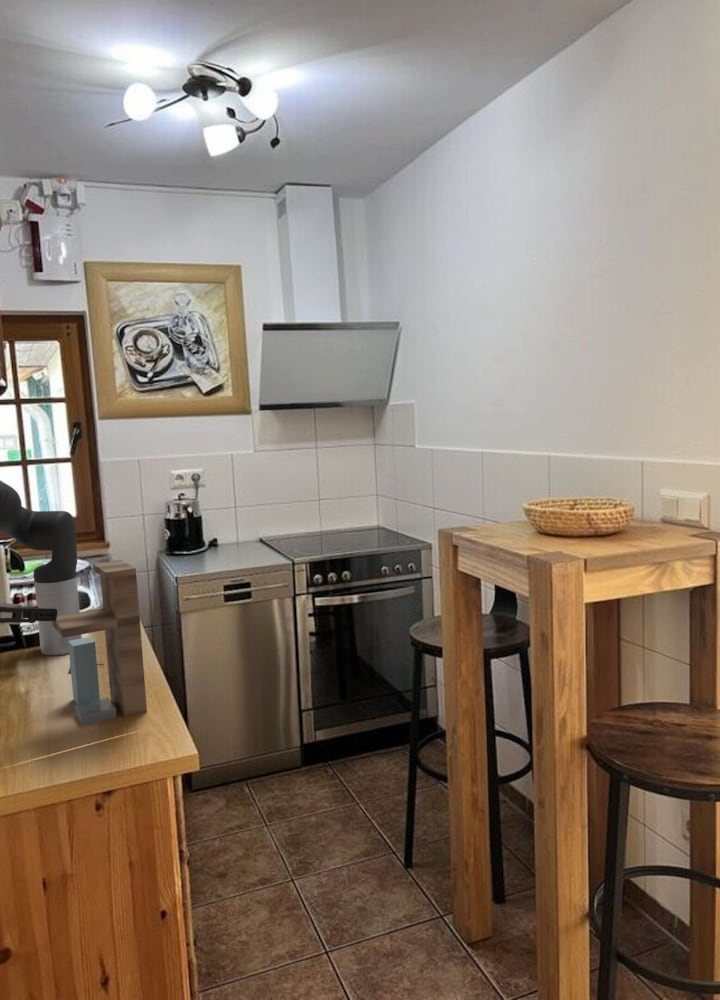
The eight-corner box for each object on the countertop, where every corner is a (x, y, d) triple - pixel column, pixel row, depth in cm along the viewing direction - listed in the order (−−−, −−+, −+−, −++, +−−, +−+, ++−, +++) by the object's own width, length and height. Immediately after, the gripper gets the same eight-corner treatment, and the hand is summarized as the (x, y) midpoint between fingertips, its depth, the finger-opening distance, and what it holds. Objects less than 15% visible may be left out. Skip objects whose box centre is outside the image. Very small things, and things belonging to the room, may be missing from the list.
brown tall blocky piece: (60, 713, 137) (47, 570, 134) (131, 696, 144) (120, 559, 141) (71, 732, 129) (57, 579, 125) (147, 713, 136) (135, 568, 132)
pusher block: (73, 700, 143) (68, 641, 142) (94, 695, 145) (89, 636, 144) (78, 707, 140) (73, 646, 138) (100, 702, 142) (95, 641, 140)
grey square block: (75, 718, 136) (74, 705, 135) (108, 710, 139) (107, 697, 138) (82, 729, 131) (81, 716, 130) (117, 720, 134) (115, 707, 133)
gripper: (-34, 591, 120) (65, 594, 131) (-61, 589, 130) (33, 591, 141) (-39, 638, 119) (61, 637, 130) (-65, 632, 129) (30, 631, 140)
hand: (46, 613), depth 135 cm, fingers open, 8 cm apart
